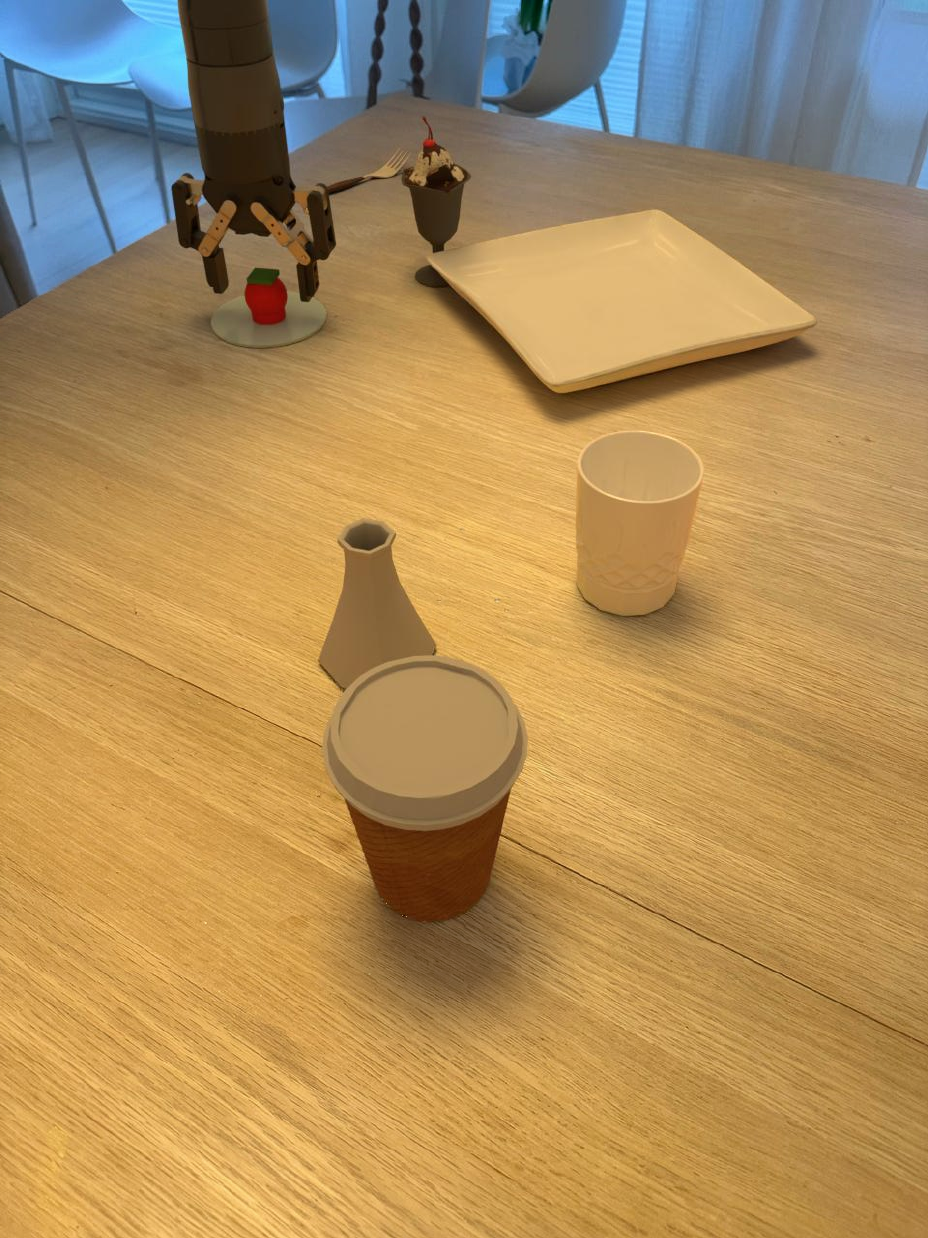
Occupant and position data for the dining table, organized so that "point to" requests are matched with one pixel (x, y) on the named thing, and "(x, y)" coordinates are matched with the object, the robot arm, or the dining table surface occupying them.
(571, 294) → the square plate
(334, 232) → the robot arm
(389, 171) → the fork
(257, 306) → the strawberry
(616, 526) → the white cup
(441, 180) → the sundae
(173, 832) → the dining table surface
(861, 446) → the dining table surface
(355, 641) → the flask
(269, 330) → the saucer
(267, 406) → the dining table surface
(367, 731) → the disposable coffee cup
